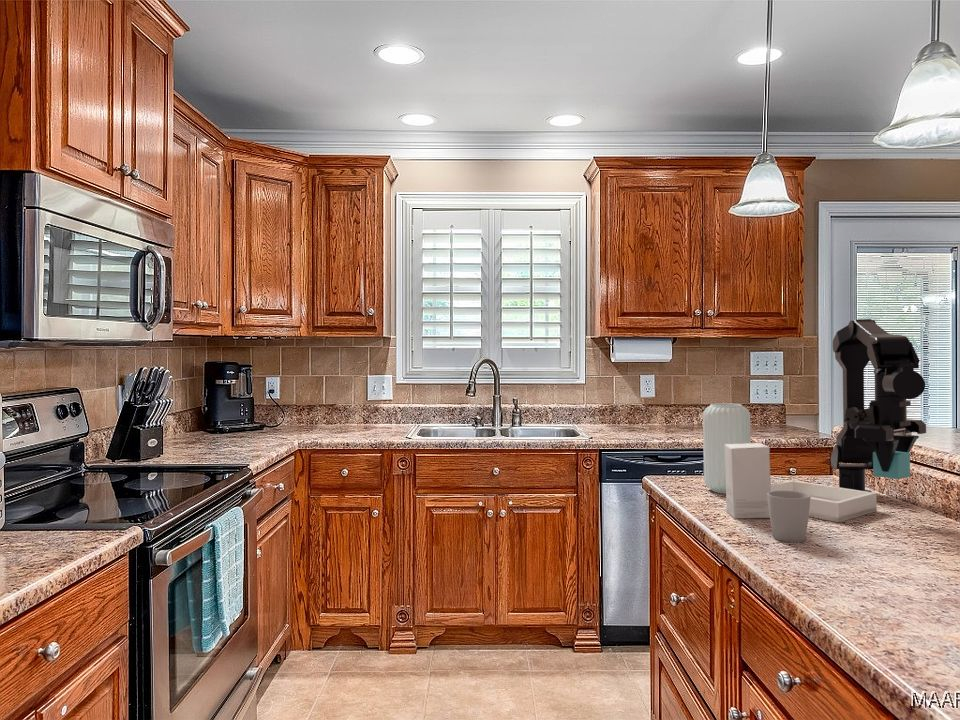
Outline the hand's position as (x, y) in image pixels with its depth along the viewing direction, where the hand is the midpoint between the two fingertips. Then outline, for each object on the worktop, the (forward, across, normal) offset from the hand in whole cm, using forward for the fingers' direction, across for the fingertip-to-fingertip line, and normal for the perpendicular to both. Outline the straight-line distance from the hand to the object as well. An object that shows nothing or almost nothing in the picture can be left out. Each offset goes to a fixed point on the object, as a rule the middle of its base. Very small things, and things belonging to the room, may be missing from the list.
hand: (891, 470), depth 144 cm
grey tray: (+10, +3, -16) cm, 19 cm away
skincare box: (+11, +20, -21) cm, 31 cm away
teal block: (+1, 0, 0) cm, 1 cm away
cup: (+11, +29, -6) cm, 31 cm away
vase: (+11, +1, -40) cm, 41 cm away
